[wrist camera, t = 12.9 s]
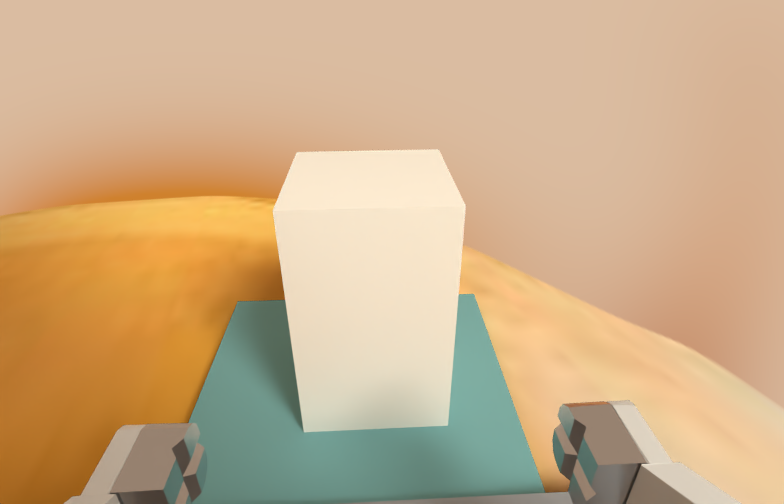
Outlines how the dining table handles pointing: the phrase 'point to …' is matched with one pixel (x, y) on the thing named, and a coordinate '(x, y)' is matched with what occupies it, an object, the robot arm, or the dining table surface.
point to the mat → (352, 447)
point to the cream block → (371, 286)
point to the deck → (490, 499)
